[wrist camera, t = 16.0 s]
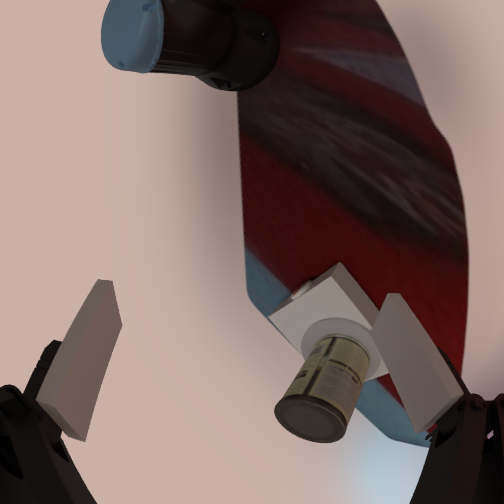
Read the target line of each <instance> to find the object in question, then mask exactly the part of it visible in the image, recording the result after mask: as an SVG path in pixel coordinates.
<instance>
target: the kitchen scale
mask: <svg viewBox="0 0 504 504" xmlns="http://www.w3.org/2000/svg"><path fill="white" fill-rule="evenodd" d="M378 314H379V311H378V309H377V308H376V307H375V305H374V304H373V303H372V301H371V300H370V299H369V297H368V296H367V295H366V294H365V292H364V291H363V290H362V288H361V287H360V286H359V285H358V283H357V282H356V281H355V279H354V278H353V277H352V276H351V274H350V273H349V272H348V271H347V269H346V268H345V267H344V266H343V265H342V263H341V262H339V263H337V264H336V265H335V266H333V267H332V268H330V269H329V270H328V271H326V272H325V273H323V274H322V275H321V276H319V277H318V278H316V279H315V280H313V281H311V280H308V281H306V282H305V283H304V284H302V285H300V286H299V288H298V289H296V290H295V291H294V292H293V293H292V295H291V296H290V297H288V298H287V299H285V300H284V301H282V302H281V303H280V304H279V305H278V306H277V308H276V309H275V310H274V311H273V312H272V313H271V314H270V316H269V317H268V318H269V319H270V320H271V321H272V322H273V323H274V324H275V326H276V327H277V328H278V329H279V330H280V331H281V332H282V333H283V335H284V336H285V337H286V338H287V339H288V340H289V341H290V342H291V344H292V345H293V346H294V347H295V348H296V349H297V350H298V351H299V353H300V354H301V355H302V356H303V357H304V359H305V361H306V359H307V358H308V356H309V354H310V353H311V351H312V349H313V347H314V345H315V343H316V342H317V341H318V340H319V339H320V338H322V337H324V336H327V335H330V334H342V335H347V336H350V337H353V338H354V339H356V340H358V341H359V342H361V343H362V344H363V345H364V346H365V347H366V349H367V350H368V351H369V354H370V358H371V364H370V367H369V369H368V372H367V375H366V378H365V381H368V380H371V379H374V378H376V377H379V376H382V375H384V374H387V373H389V372H388V369H387V367H386V365H385V363H384V361H383V359H382V357H381V355H380V353H379V351H378V349H377V347H376V345H375V343H374V341H373V339H372V337H371V335H370V331H371V329H372V327H373V325H374V323H375V321H376V319H377V316H378ZM365 381H364V382H365Z"/></svg>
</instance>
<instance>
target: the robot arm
mask: <svg viewBox="0 0 504 504" xmlns="http://www.w3.org/2000/svg"><path fill="white" fill-rule="evenodd" d="M244 1H245V0H110V2H109V4H108V6H107V8H106V11H105V14H104V18H103V22H102V28H101V44H102V50H103V53H104V56H105V58H106V60H107V61H108V62H109V63H110V65H112V66H113V67H115V68H117V69H119V70H124V71H134V72H139V73H148V72H150V73H168V74H180V75H191V76H195V77H197V78H199V79H200V80H201V81H203V82H204V83H206V84H207V85H209V86H211V87H213V88H216V89H219V90H226V91H242V90H245V89H248V88H251V87H253V86H254V85H256V84H258V83H259V82H260V81H262V80H263V79H264V78H265V77H266V76H267V75H268V73H269V72H270V71H271V69H272V68H273V66H274V64H275V62H276V59H277V56H278V52H279V38H278V34H277V31H276V29H275V27H274V26H273V24H272V23H271V22H270V21H269V20H268V19H267V18H265V17H264V16H262V15H260V14H259V13H257V12H255V11H252V10H249V9H243V8H238V7H239V6H240V5H241V4H242V3H243V2H244ZM121 328H122V322H121V318H120V314H119V310H118V305H117V301H116V296H115V291H114V286H113V281H109V280H99V279H98V280H97V282H96V283H95V285H94V286H93V289H92V290H91V291H90V293H89V295H88V296H87V298H86V300H85V301H84V303H83V305H82V307H81V309H80V310H79V312H78V314H77V315H76V317H75V319H74V321H73V323H72V325H71V326H70V328H69V330H68V332H67V334H66V336H65V338H64V340H63V342H61V341H57V340H53V341H52V342H51V343H50V344H49V345H48V346H47V347H46V348H45V349H44V351H43V353H42V355H41V357H40V360H39V361H38V363H37V365H36V368H35V369H34V371H33V373H32V375H31V377H30V379H29V381H28V384H27V386H26V388H25V391H24V393H23V394H22V393H21V391H19V389H18V388H17V387H15V386H13V385H10V384H9V385H4V386H2V387H0V504H97V503H96V501H95V500H94V498H93V496H92V495H91V493H90V492H89V490H88V489H87V487H86V485H85V483H84V481H83V480H82V478H81V476H80V474H79V472H78V471H77V469H76V467H75V465H74V463H73V461H72V459H71V457H70V455H69V453H68V451H67V448H66V446H65V444H64V442H63V440H62V439H61V433H62V431H63V432H64V433H65V434H66V435H67V436H68V437H71V438H74V439H77V440H80V441H84V442H85V441H86V437H87V433H88V429H89V425H90V421H91V418H92V414H93V411H94V407H95V404H96V400H97V397H98V394H99V391H100V388H101V384H102V381H103V378H104V375H105V372H106V369H107V366H108V363H109V360H110V358H111V355H112V352H113V349H114V346H115V343H116V341H117V338H118V335H119V332H120V330H121ZM370 335H371V337H372V339H373V341H374V343H375V345H376V347H377V349H378V351H379V353H380V355H381V357H382V359H383V361H384V363H385V365H386V367H387V369H388V372H389V374H390V376H391V378H392V380H393V382H394V384H395V387H396V389H397V391H398V393H399V395H400V398H401V400H402V402H403V405H404V407H405V409H406V411H407V414H408V416H409V419H410V421H411V423H412V426H413V428H414V431H415V433H419V432H422V431H424V430H427V429H429V428H430V427H431V426H432V425H433V424H434V423H435V422H436V424H437V427H436V428H435V429H434V430H433V431H432V432H431V433H429V434H428V435H427V436H426V438H425V440H427V439H429V438H430V437H431V436H432V435H433V437H432V438H431V439H430V440H429V441H430V442H431V444H430V447H429V451H428V454H427V457H426V461H425V464H424V467H423V470H422V473H421V476H420V478H419V481H418V484H417V486H416V489H415V491H414V494H413V496H412V499H411V501H410V504H504V394H503V393H502V394H499V395H498V396H497V397H496V398H495V399H494V400H492V401H484V399H483V398H482V397H481V396H480V395H478V394H474V393H473V394H470V392H469V391H468V389H467V387H466V386H465V384H464V382H463V380H462V379H461V377H460V375H459V374H458V372H457V370H455V367H454V366H453V364H451V361H450V359H449V357H448V356H447V354H446V353H445V352H444V351H443V350H441V349H440V348H439V347H436V346H435V345H434V343H433V342H432V340H431V338H430V337H429V335H428V334H427V332H426V331H425V329H424V328H423V326H422V325H421V323H420V322H419V321H418V319H417V318H416V316H415V315H414V313H413V312H412V310H411V309H410V308H409V306H408V305H407V303H406V302H405V301H404V299H403V298H402V296H401V295H400V294H399V293H388V294H387V296H386V298H385V301H384V303H383V305H382V308H381V310H380V312H379V314H378V316H377V319H376V321H375V323H374V325H373V327H372V329H371V331H370ZM492 430H493V436H492V437H491V438H490V439H488V438H487V435H488V434H489V433H490V432H491V431H492Z"/></svg>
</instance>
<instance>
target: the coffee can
mask: <svg viewBox="0 0 504 504" xmlns="http://www.w3.org/2000/svg"><path fill="white" fill-rule="evenodd" d="M370 364H371V358H370V354H369V351H368V350H367V349H366V347H365V346H364V345H363V344H362V343H361V342H359V341H358V340H356V339H354V338H353V337H350V336H347V335H342V334H330V335H327V336H324V337H322V338H320V339H319V340H318V341H317V342H316V343H315V345H314V347H313V349H312V351H311V353H310V354H309V356H308V358H307V359H306V361H305V363H304V364H303V366H302V368H301V369H300V371H299V373H298V374H297V376H296V377H295V379H294V380H293V382H292V384H291V385H290V387H289V388H288V390H287V392H286V393H285V394H284V396H283V398H282V399H281V400H280V401H279V402H278V403H277V405H276V406H275V409H274V413H275V416H276V418H277V420H278V421H279V423H280V424H281V425H282V426H283V427H284V428H285V429H286V430H288V431H289V432H291V433H292V434H294V435H296V436H298V437H300V438H302V439H305V440H308V441H312V442H317V443H332V442H335V441H338V440H340V439H341V438H342V437H343V436H344V435H345V432H346V429H347V425H348V423H349V421H350V418H351V416H352V413H353V410H354V408H355V405H356V403H357V400H358V398H359V395H360V392H361V389H362V386H363V383H364V381H365V378H366V375H367V372H368V369H369V367H370Z"/></svg>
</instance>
